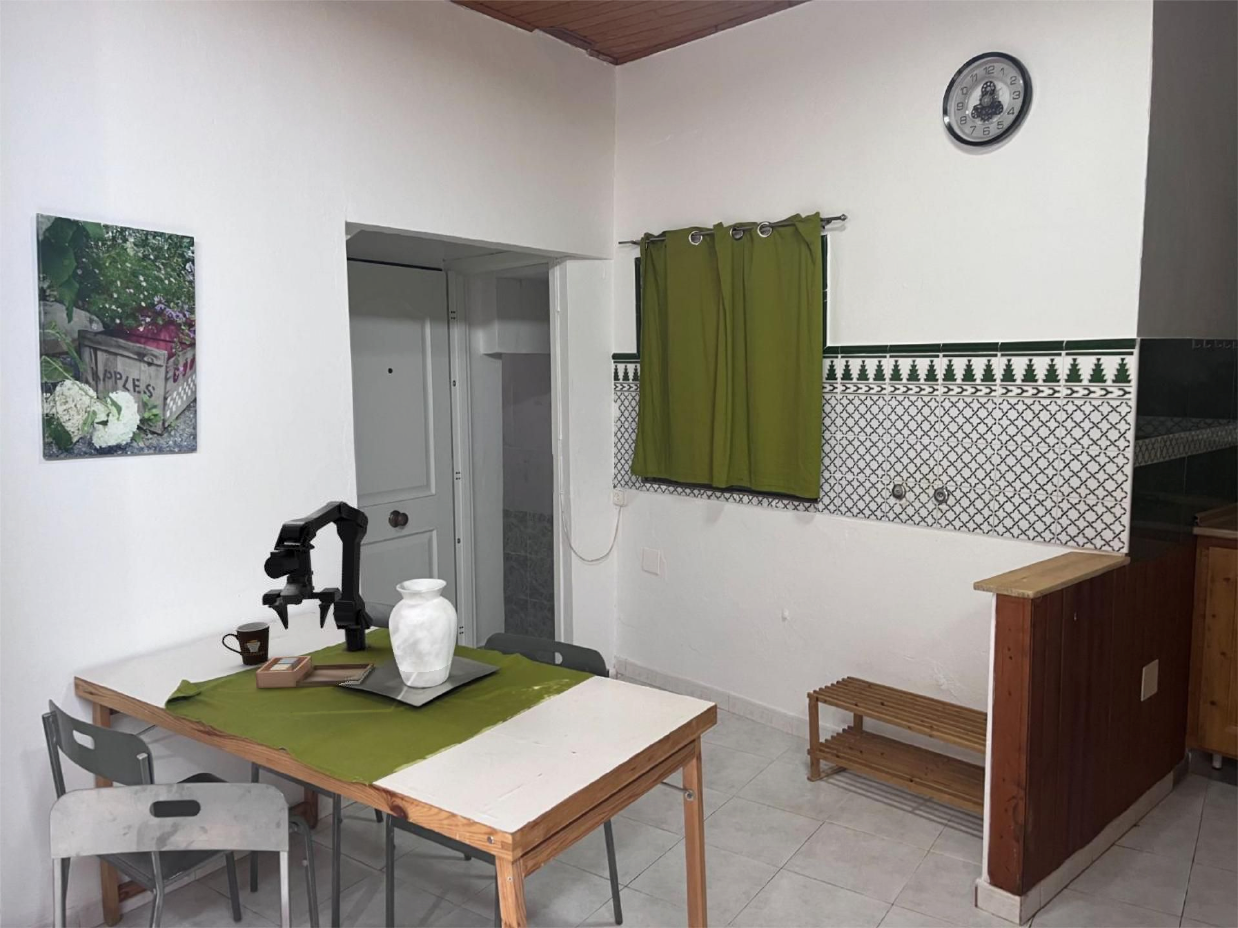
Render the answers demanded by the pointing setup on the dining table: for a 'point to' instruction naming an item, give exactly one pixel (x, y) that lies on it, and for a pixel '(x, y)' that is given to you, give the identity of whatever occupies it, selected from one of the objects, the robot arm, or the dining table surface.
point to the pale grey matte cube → (290, 662)
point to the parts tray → (332, 674)
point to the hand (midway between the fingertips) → (304, 628)
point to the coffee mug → (252, 642)
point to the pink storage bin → (281, 673)
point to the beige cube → (281, 667)
